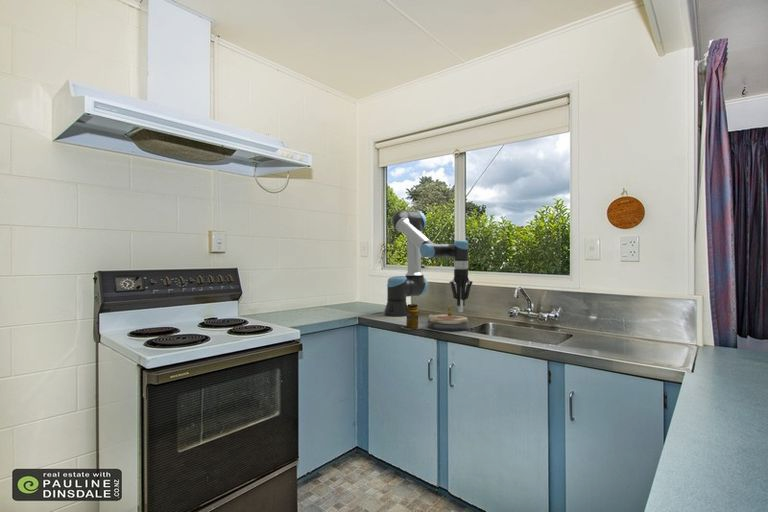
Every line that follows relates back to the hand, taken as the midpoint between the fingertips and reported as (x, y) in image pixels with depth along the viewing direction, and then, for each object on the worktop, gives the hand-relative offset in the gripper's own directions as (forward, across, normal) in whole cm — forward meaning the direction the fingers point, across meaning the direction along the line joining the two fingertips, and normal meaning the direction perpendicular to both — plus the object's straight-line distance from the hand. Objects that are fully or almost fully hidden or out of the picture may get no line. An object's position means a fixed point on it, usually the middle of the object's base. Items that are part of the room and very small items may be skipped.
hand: (460, 311), depth 215 cm
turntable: (+3, -11, -8) cm, 14 cm away
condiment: (+7, -30, -6) cm, 31 cm away
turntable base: (+6, -11, -8) cm, 15 cm away
